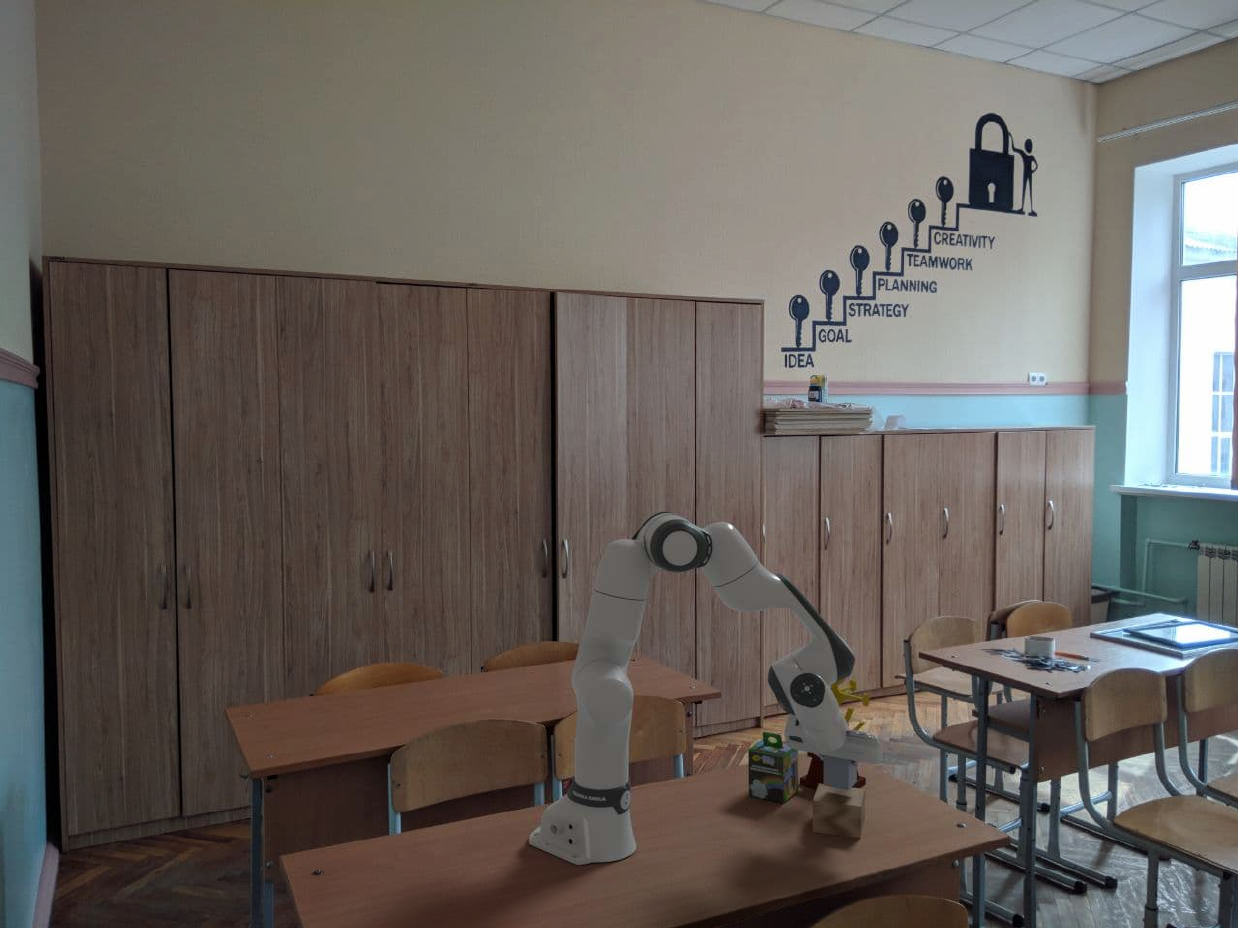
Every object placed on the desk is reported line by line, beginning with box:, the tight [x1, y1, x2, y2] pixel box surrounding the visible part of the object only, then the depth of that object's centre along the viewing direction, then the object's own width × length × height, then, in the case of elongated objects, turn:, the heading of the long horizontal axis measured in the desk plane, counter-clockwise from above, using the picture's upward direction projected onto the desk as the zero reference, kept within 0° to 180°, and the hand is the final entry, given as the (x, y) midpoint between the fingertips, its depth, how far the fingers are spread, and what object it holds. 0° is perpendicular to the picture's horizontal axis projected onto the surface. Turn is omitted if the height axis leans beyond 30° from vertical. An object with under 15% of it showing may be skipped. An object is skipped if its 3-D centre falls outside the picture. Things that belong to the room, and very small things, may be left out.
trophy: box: [799, 678, 870, 791], centre depth 236 cm, size 14×16×30 cm
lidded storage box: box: [824, 755, 858, 790], centre depth 212 cm, size 6×6×9 cm
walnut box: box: [812, 784, 866, 839], centre depth 212 cm, size 10×10×7 cm
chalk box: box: [747, 731, 799, 805], centre depth 230 cm, size 9×9×15 cm
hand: (841, 760), depth 212 cm, fingers closed on lidded storage box, 5 cm apart
